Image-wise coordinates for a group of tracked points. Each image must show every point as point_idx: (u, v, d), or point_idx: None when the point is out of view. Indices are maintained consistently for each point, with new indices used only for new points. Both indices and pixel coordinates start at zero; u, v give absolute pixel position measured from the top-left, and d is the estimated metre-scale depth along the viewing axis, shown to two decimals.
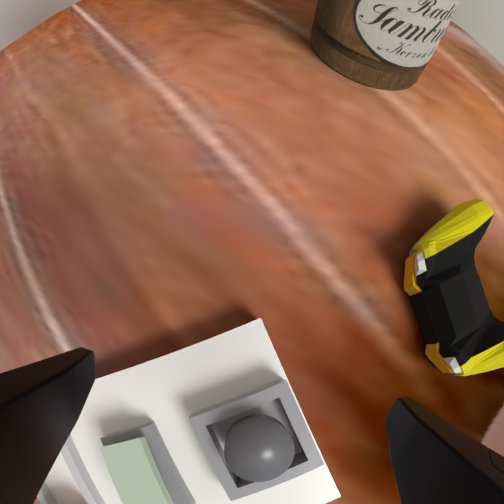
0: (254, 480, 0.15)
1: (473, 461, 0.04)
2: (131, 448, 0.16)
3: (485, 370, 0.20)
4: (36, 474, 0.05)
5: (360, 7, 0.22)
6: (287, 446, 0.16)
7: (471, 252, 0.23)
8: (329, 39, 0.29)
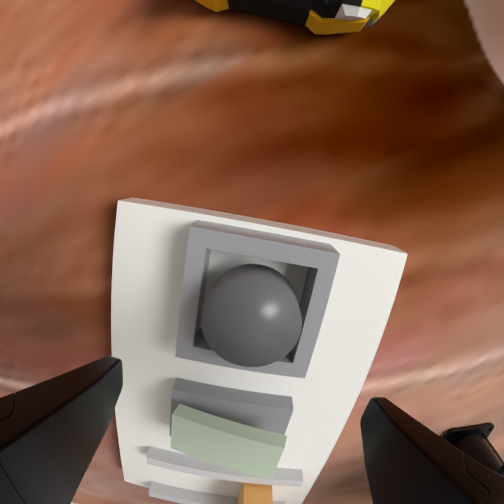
0: (286, 352, 0.13)
1: (445, 467, 0.04)
2: (180, 427, 0.15)
3: None
4: (67, 489, 0.05)
5: None
6: (267, 290, 0.12)
7: None
8: None
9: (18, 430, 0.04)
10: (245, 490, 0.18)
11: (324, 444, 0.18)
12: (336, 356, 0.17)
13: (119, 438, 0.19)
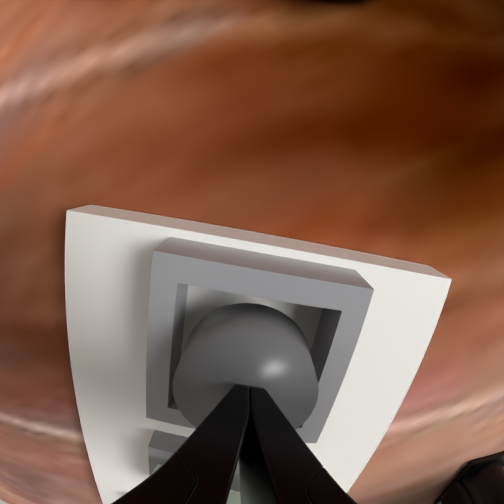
0: (294, 428, 0.08)
1: (279, 478, 0.04)
2: None
3: None
4: None
5: None
6: (268, 351, 0.08)
7: None
8: None
9: (210, 493, 0.04)
10: None
11: None
12: (355, 407, 0.12)
13: (97, 482, 0.14)
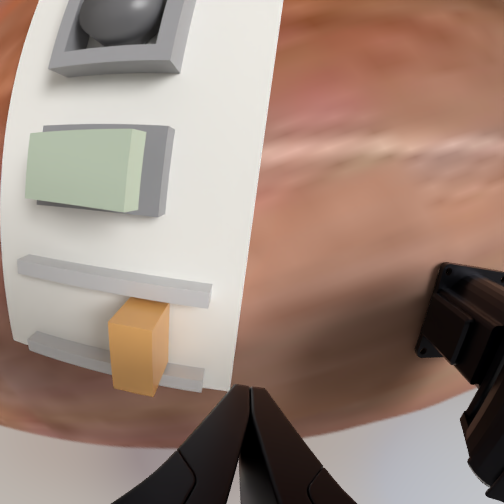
0: (144, 15, 0.10)
1: (278, 478, 0.04)
2: (34, 149, 0.11)
3: None
4: None
5: None
6: None
7: None
8: None
9: (210, 493, 0.04)
10: (124, 306, 0.14)
11: (235, 225, 0.15)
12: (223, 69, 0.13)
13: (2, 251, 0.15)
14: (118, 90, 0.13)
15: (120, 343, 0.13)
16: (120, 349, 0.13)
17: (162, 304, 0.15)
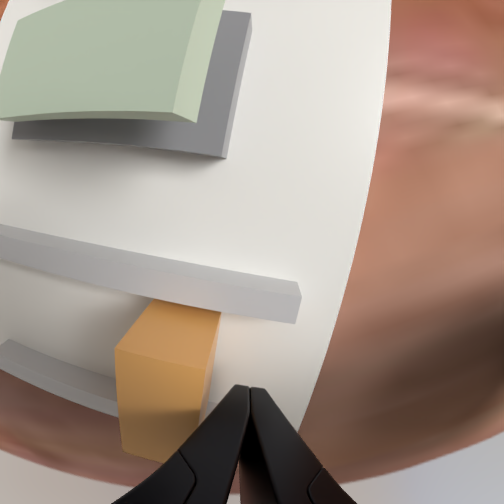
0: None
1: (278, 478, 0.04)
2: (18, 40, 0.05)
3: None
4: None
5: None
6: None
7: None
8: None
9: (210, 493, 0.04)
10: (143, 315, 0.08)
11: (343, 185, 0.09)
12: None
13: None
14: None
15: (138, 387, 0.06)
16: (137, 397, 0.06)
17: (211, 314, 0.09)
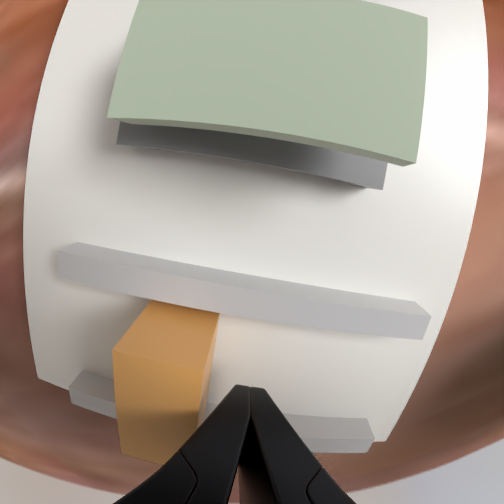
0: None
1: (278, 478, 0.04)
2: (150, 22, 0.05)
3: None
4: None
5: None
6: None
7: None
8: None
9: (211, 494, 0.04)
10: (141, 316, 0.08)
11: (456, 216, 0.09)
12: (436, 7, 0.07)
13: (25, 235, 0.09)
14: None
15: (136, 389, 0.06)
16: (135, 399, 0.06)
17: (209, 315, 0.09)
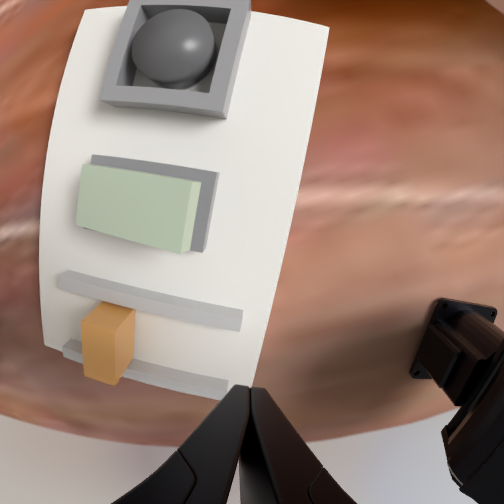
0: (198, 62, 0.13)
1: (279, 478, 0.04)
2: (87, 181, 0.14)
3: None
4: None
5: None
6: (184, 15, 0.12)
7: None
8: None
9: (210, 493, 0.04)
10: (96, 308, 0.16)
11: (267, 261, 0.17)
12: (266, 119, 0.15)
13: (40, 264, 0.17)
14: (166, 127, 0.16)
15: (90, 339, 0.15)
16: (90, 344, 0.15)
17: (128, 309, 0.17)
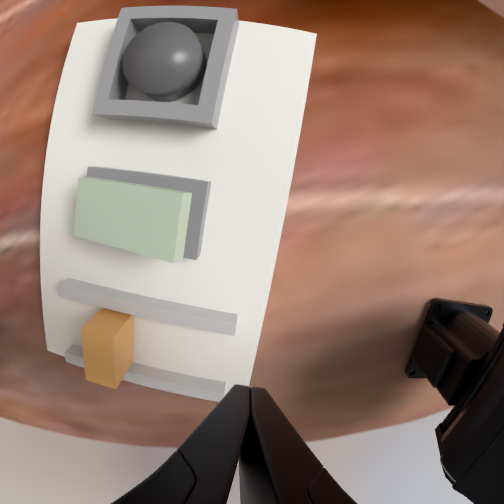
0: (187, 75, 0.13)
1: (279, 478, 0.04)
2: (84, 193, 0.14)
3: None
4: None
5: None
6: (173, 28, 0.13)
7: None
8: None
9: (210, 494, 0.04)
10: (96, 315, 0.17)
11: (260, 267, 0.18)
12: (256, 128, 0.16)
13: (41, 272, 0.18)
14: (159, 139, 0.16)
15: (90, 345, 0.15)
16: (90, 349, 0.15)
17: (127, 315, 0.18)
